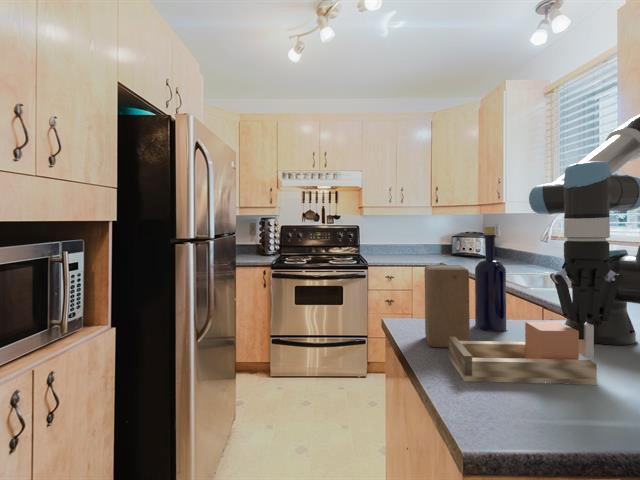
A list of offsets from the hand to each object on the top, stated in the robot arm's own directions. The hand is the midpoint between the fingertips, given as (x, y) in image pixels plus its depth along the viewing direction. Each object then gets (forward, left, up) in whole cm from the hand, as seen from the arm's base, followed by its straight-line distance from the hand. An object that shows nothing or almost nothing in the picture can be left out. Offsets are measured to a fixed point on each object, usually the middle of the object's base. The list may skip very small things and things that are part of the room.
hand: (585, 354), depth 75 cm
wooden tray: (+14, 0, -4) cm, 14 cm away
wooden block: (+24, -18, -4) cm, 30 cm away
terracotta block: (+7, 0, -2) cm, 7 cm away
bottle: (+8, -33, -4) cm, 34 cm away
